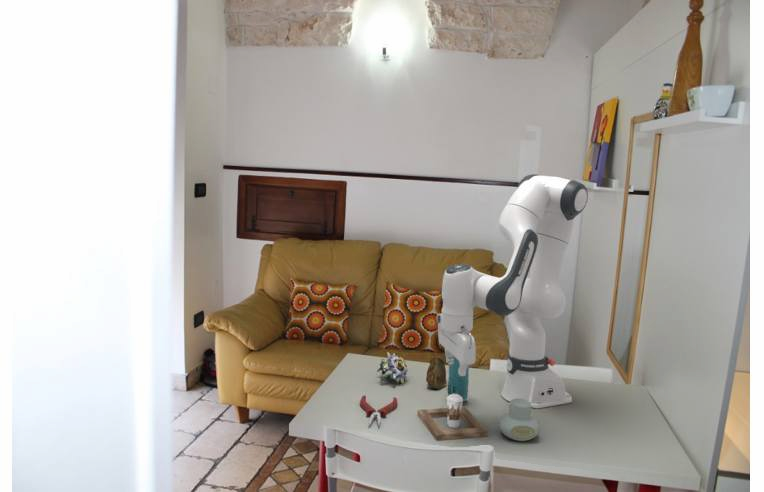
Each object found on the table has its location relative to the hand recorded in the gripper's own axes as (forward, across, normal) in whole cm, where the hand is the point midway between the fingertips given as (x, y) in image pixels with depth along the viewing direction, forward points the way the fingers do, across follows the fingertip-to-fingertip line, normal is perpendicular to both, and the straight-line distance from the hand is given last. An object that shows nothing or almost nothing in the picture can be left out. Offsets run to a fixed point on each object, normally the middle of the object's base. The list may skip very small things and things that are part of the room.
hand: (455, 369), depth 175 cm
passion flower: (+17, +37, +9) cm, 42 cm away
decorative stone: (+17, +30, -5) cm, 35 cm away
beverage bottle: (+17, +16, -7) cm, 24 cm away
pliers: (+17, +12, +21) cm, 30 cm away
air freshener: (+17, -10, -15) cm, 25 cm away
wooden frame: (+16, 0, +1) cm, 17 cm away
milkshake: (+17, -1, +1) cm, 17 cm away
